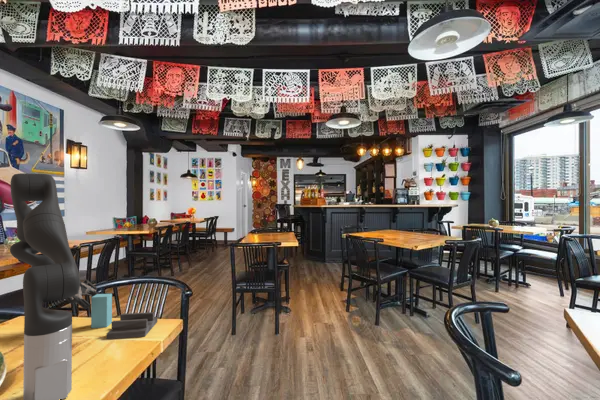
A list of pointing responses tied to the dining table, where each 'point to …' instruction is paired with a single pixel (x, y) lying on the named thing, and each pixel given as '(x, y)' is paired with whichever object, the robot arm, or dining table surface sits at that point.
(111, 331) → the book stand
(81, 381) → the dining table surface
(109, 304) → the teal book
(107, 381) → the dining table surface
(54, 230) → the robot arm
